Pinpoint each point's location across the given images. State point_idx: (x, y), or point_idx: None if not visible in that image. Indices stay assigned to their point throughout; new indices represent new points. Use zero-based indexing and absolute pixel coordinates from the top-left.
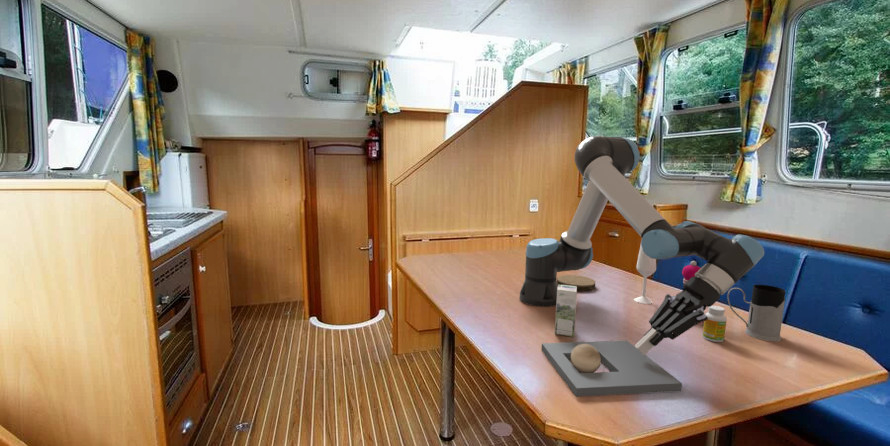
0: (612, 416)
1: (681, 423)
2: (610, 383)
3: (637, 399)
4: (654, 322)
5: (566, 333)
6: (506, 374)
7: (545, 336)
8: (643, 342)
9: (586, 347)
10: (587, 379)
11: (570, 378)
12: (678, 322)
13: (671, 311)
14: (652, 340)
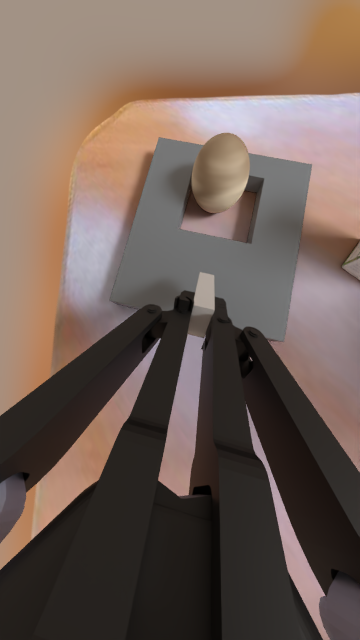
0: (110, 170)
1: (65, 238)
2: (151, 189)
3: (125, 225)
4: (240, 340)
5: (355, 252)
6: (240, 100)
7: (354, 217)
8: (199, 280)
9: (219, 137)
10: (173, 165)
11: (184, 143)
12: (112, 350)
13: (212, 422)
14: (185, 293)
